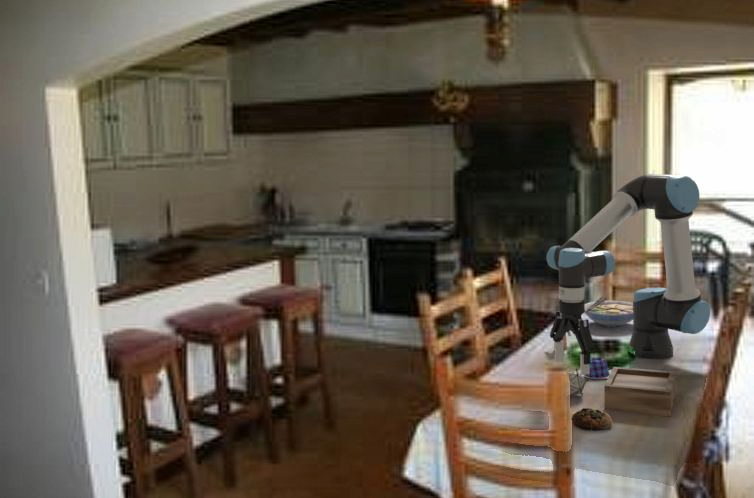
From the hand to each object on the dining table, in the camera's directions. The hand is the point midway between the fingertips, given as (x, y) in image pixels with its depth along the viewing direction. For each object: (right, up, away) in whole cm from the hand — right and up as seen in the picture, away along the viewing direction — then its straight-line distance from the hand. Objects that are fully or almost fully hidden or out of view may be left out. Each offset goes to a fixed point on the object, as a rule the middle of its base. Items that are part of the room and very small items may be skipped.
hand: (571, 367), depth 236 cm
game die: (+1, -9, +2) cm, 9 cm away
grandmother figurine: (+8, -1, +50) cm, 50 cm away
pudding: (+13, -6, +20) cm, 24 cm away
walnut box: (+19, -9, -7) cm, 22 cm away
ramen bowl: (+36, +5, +77) cm, 85 cm away
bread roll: (+1, -13, -20) cm, 24 cm away
